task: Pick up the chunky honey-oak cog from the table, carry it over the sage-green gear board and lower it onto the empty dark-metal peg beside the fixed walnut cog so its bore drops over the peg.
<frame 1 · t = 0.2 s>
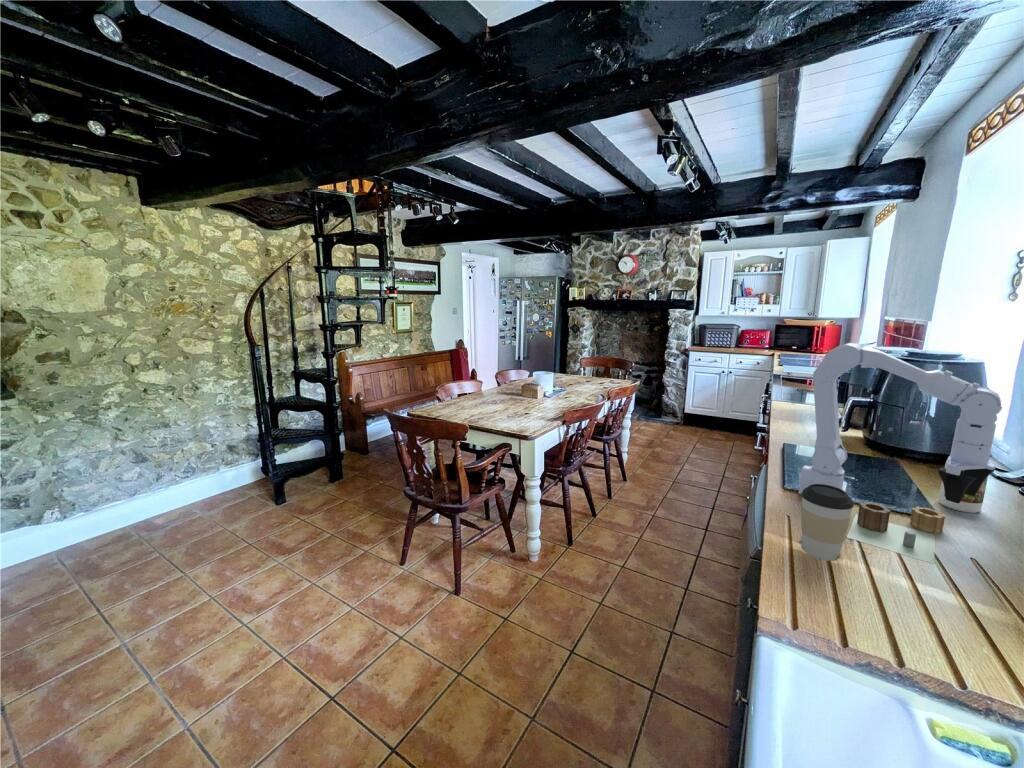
hand: (960, 497, 92), 10 cm above the counter, fingers open, 7 cm apart
board: (890, 540, 93), on the counter
oak cog: (925, 531, 96), on the counter
coffee cup: (819, 552, 89), on the counter
walnut cog: (871, 526, 97), resting on board
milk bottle: (958, 507, 107), on the counter
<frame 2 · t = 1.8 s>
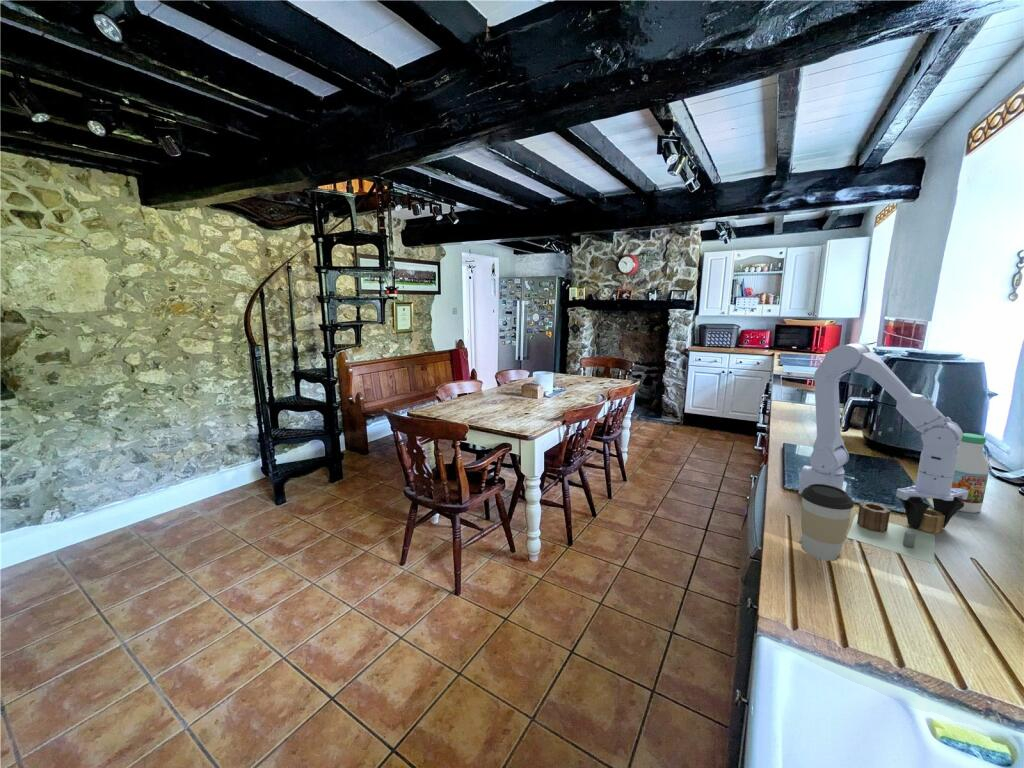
hand: (925, 526, 96), 1 cm above the counter, fingers closed on oak cog, 5 cm apart
oak cog: (925, 531, 96), on the counter, touching gripper
everything else where it was.
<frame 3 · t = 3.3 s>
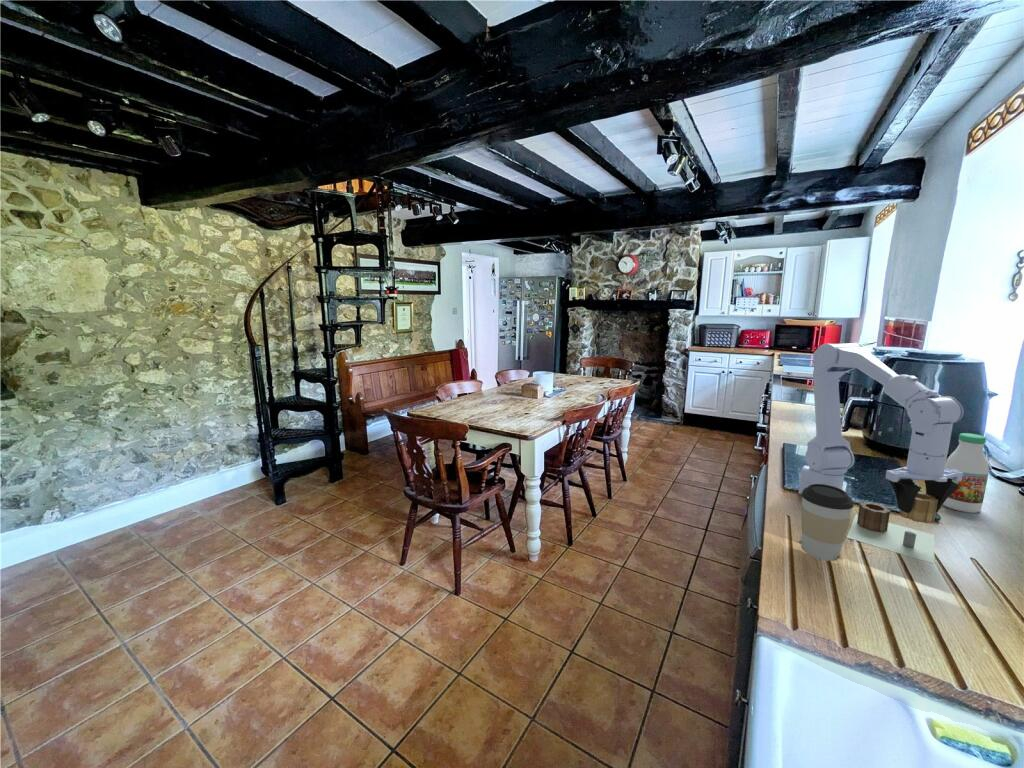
hand: (917, 510, 88), 9 cm above the counter, fingers closed on oak cog, 5 cm apart
oak cog: (916, 517, 89), point 7 cm above the counter, touching gripper
everything else where it was.
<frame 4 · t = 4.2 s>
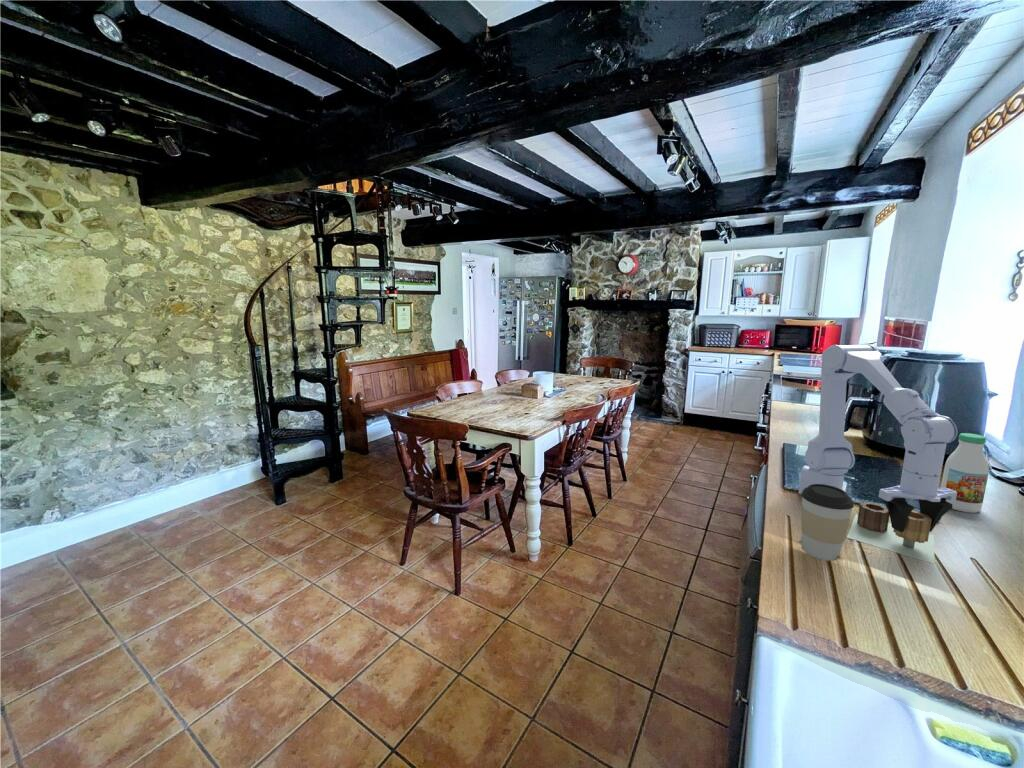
hand: (911, 529, 88), 5 cm above the counter, fingers closed on oak cog, 5 cm apart
oak cog: (910, 535, 88), point 4 cm above the counter, touching gripper
everything else where it was.
when the fingers open (4 cm above the counter, at t = 5.0 s): oak cog drops 1 cm, resting on board.
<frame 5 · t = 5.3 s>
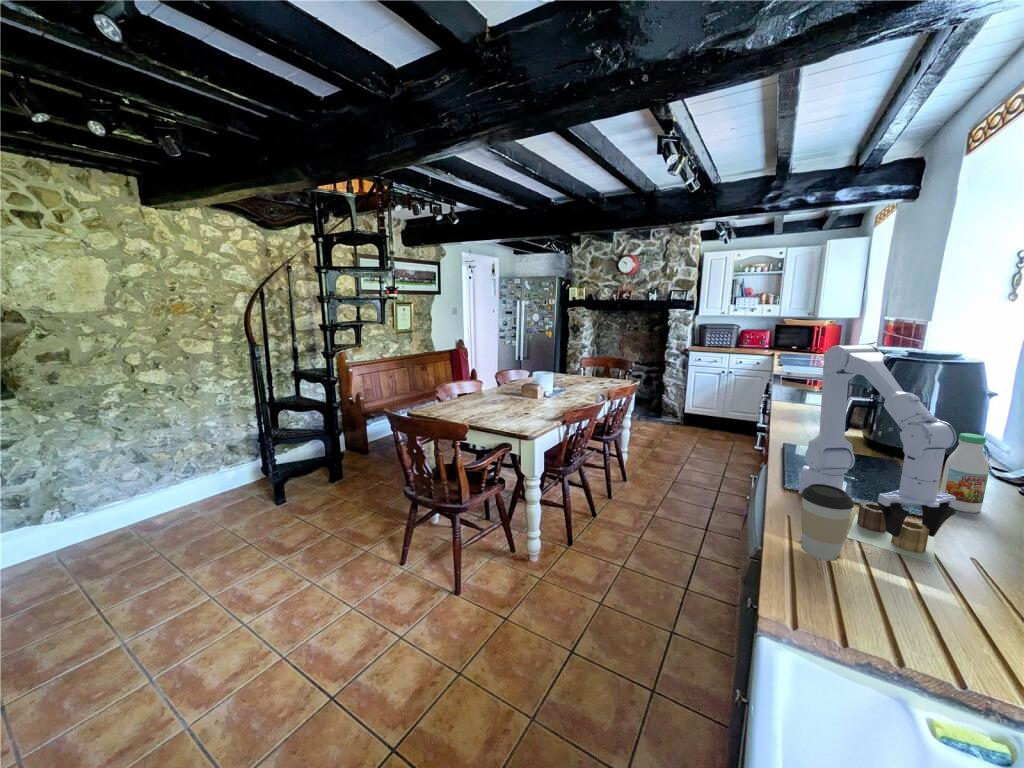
hand: (910, 534, 88), 4 cm above the counter, fingers open, 7 cm apart
oak cog: (908, 545, 89), point 1 cm above the counter, touching board
everything else where it was.
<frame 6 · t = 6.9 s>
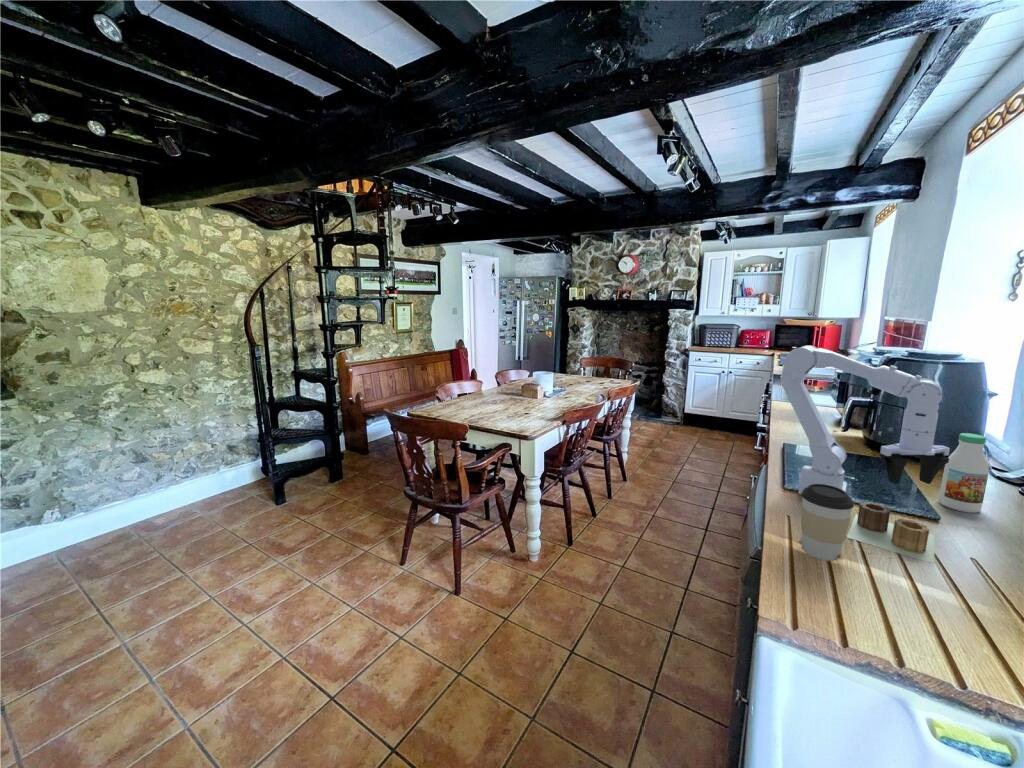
hand: (909, 482, 99), 10 cm above the counter, fingers open, 7 cm apart
nothing on the counter moved.
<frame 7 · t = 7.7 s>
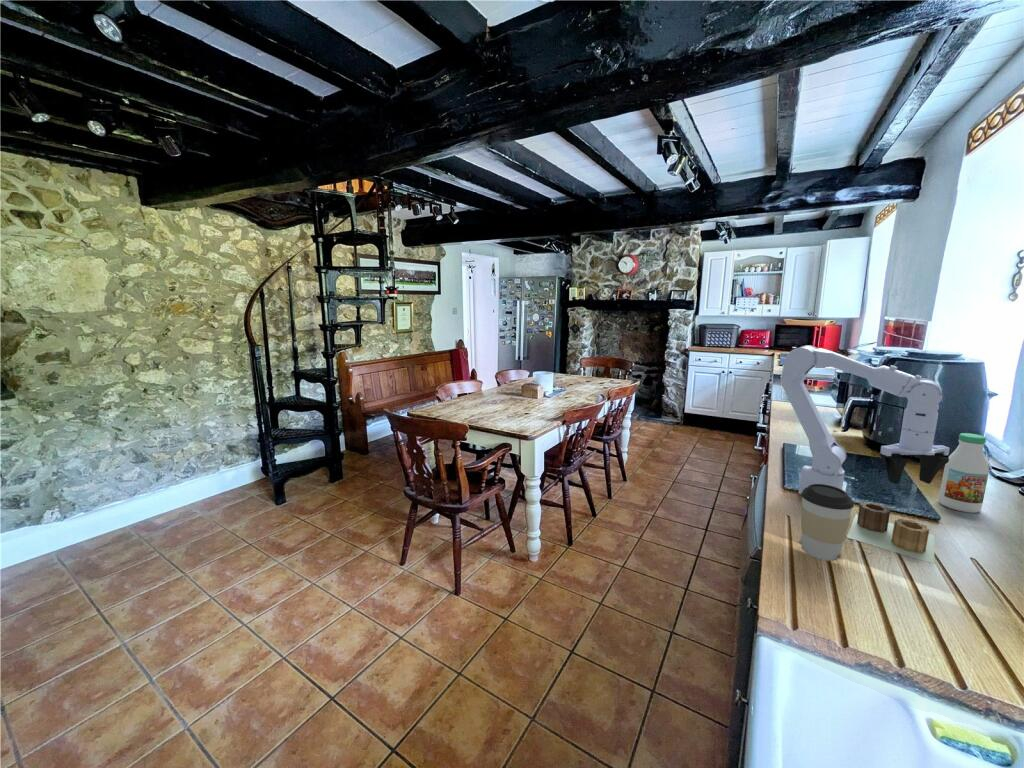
hand: (909, 482, 99), 10 cm above the counter, fingers open, 7 cm apart
nothing on the counter moved.
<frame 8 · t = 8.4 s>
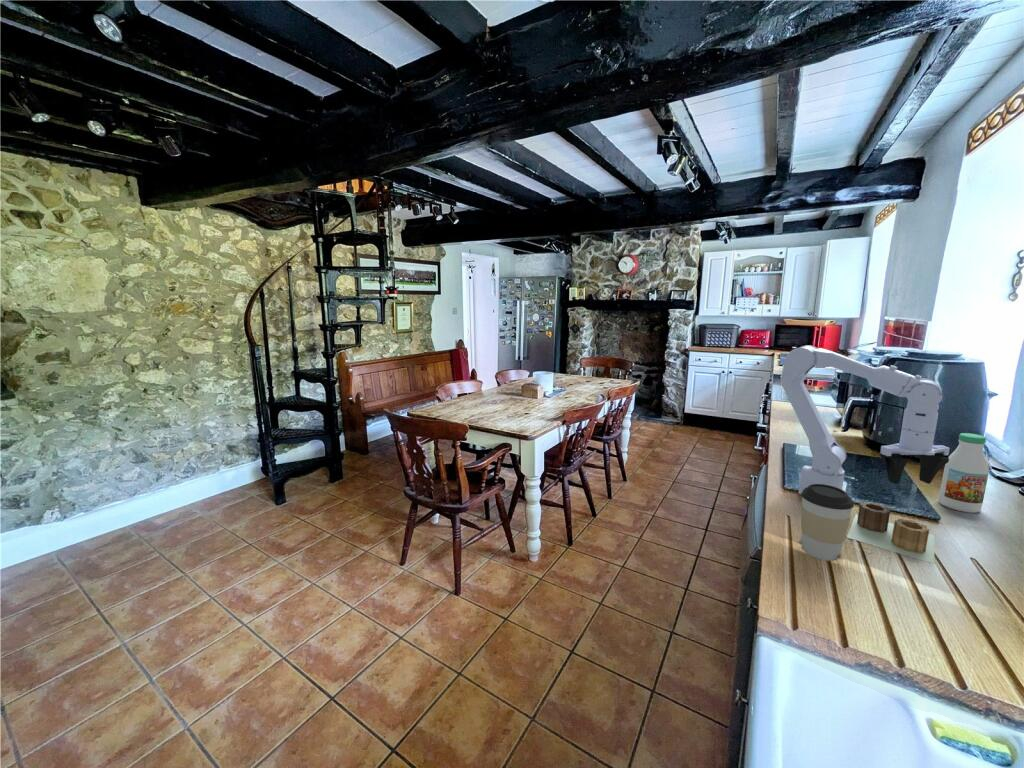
hand: (909, 482, 99), 10 cm above the counter, fingers open, 7 cm apart
nothing on the counter moved.
at the end: oak cog 0.0 cm from the target spot on the board, point 1.2 cm above the board's base; oak cog tilted 0°; the gripper is holding nothing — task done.
